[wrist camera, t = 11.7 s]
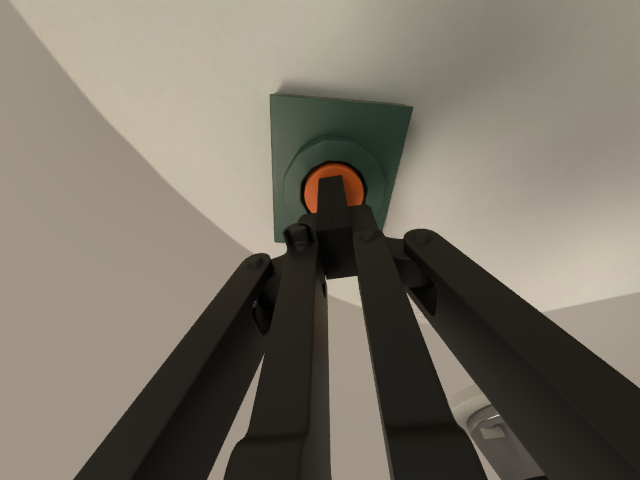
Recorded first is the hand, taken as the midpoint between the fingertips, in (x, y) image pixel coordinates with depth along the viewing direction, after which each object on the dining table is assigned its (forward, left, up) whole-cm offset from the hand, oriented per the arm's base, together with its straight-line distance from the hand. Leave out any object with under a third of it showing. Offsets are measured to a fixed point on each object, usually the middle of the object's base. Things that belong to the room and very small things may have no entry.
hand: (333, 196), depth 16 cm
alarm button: (0, 0, -2) cm, 2 cm away
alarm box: (0, 0, -5) cm, 5 cm away
